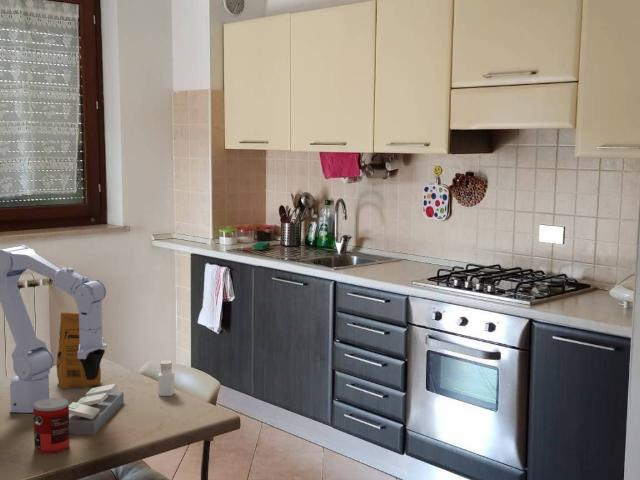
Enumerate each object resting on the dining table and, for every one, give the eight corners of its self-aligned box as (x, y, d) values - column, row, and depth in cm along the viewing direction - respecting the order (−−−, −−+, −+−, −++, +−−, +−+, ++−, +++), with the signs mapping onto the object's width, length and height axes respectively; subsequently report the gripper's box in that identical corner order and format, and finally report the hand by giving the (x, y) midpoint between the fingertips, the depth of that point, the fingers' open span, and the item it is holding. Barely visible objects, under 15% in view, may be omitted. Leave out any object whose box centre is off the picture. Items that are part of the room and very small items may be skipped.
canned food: (39, 441, 191) (37, 397, 190) (73, 441, 192) (72, 397, 190) (30, 454, 183) (28, 408, 182) (65, 453, 184) (64, 408, 183)
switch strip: (58, 433, 196) (58, 421, 196) (95, 397, 224) (95, 387, 223) (94, 434, 196) (94, 422, 196) (127, 398, 223) (127, 388, 223)
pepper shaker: (171, 396, 225) (171, 364, 224) (157, 396, 225) (157, 364, 224) (174, 392, 229) (174, 360, 228) (161, 392, 229) (160, 360, 228)
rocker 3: (64, 416, 197) (65, 408, 197) (71, 409, 202) (73, 401, 202) (91, 423, 197) (93, 415, 197) (98, 416, 202) (99, 408, 202)
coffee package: (57, 380, 238) (55, 308, 236) (100, 377, 242) (98, 306, 239) (57, 390, 229) (54, 316, 226) (101, 387, 233) (99, 313, 230)
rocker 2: (76, 411, 206) (74, 403, 205) (83, 405, 210) (81, 397, 210) (102, 406, 205) (100, 398, 205) (108, 400, 210) (106, 392, 210)
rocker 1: (87, 401, 213) (85, 393, 213) (93, 395, 218) (92, 387, 218) (112, 396, 213) (110, 388, 213) (118, 390, 218) (116, 382, 218)
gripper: (96, 334, 198) (97, 387, 199) (114, 321, 212) (115, 370, 214) (68, 334, 198) (70, 386, 200) (88, 320, 212) (90, 370, 214)
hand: (92, 378), depth 207 cm, fingers closed
